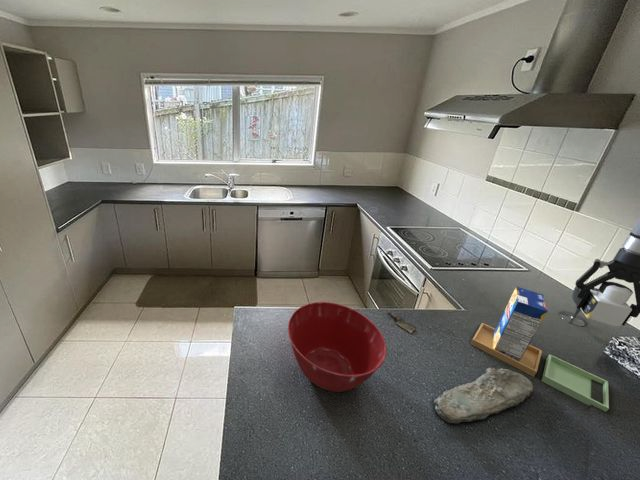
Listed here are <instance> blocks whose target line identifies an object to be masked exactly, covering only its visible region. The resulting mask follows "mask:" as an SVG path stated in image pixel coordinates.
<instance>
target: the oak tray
mask: <svg viewBox="0 0 640 480" xmlns="http://www.w3.org/2000/svg"><path fill="white" fill-rule="evenodd" d="M495 329H496V327H495V328H494V327H492V326H490V325H488V324H486V323H483V322H482V323H481V324H480V326H479V328H478V329H477V330H476V332H475V334H474V335H473V338H472V340H471V342H470V345H472V346H473V347H475V348H477V349H479V350H481V351H482V352H485V353H486V354H489V355H491V356H492V357H494V358H496V359H498V360H499V361H502V362H503V363H506V364H508V365H510V366H512V367H514V368H515V369H517V370H519V371H521V372H523V373H525V374H526V375H528V376H531V377H532V378H535V376H536V375H537V372H538V370H539V365H540V362H541V357H542V354H543V350H542V349H540V348H538V347H535V346H534V345H531V344H529V345H528V347H527V349H526V351H525V353H524V354H523V356H522V358H521V360H520V361H517V360H515V359H513V358H511V357H509V356H507V355H505V354H503V353H501V352H499V351H497V350H495V349H493V333H494V331H495Z"/></svg>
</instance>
